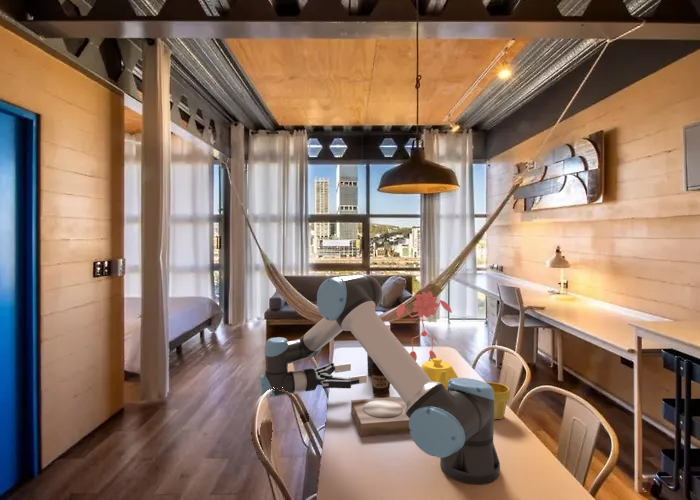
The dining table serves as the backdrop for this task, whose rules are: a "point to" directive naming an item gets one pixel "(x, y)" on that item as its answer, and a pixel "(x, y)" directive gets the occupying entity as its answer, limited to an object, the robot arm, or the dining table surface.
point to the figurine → (424, 313)
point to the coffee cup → (379, 382)
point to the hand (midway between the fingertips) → (358, 372)
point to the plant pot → (500, 399)
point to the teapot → (439, 371)
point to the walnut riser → (380, 416)
